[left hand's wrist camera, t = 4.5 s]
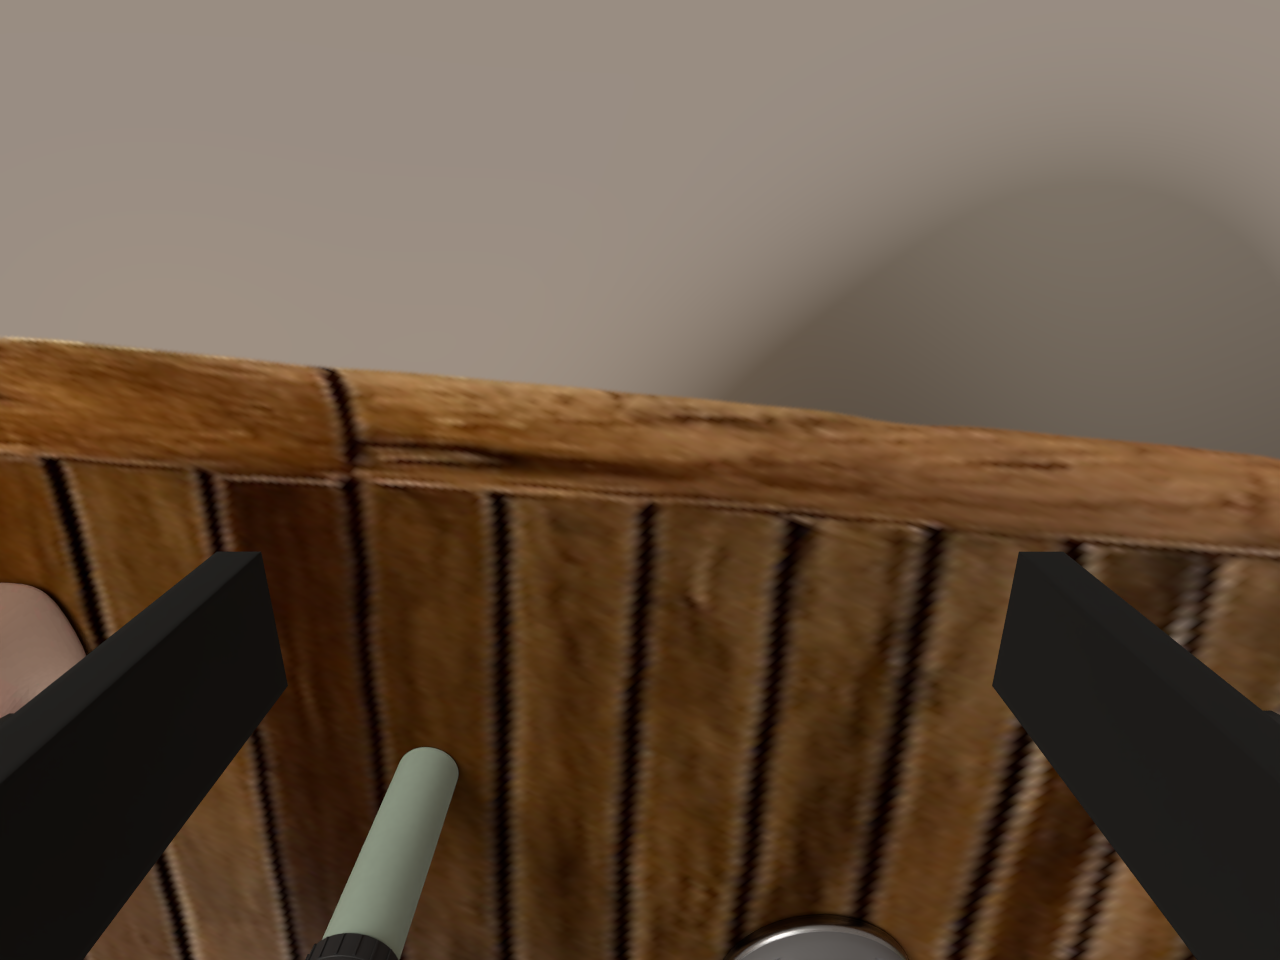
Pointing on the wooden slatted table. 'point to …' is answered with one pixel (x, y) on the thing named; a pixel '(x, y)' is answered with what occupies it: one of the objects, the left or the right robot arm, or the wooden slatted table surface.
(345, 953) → the lid
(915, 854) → the wooden slatted table surface
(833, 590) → the wooden slatted table surface
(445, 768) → the bottle
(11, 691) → the anatomical model
